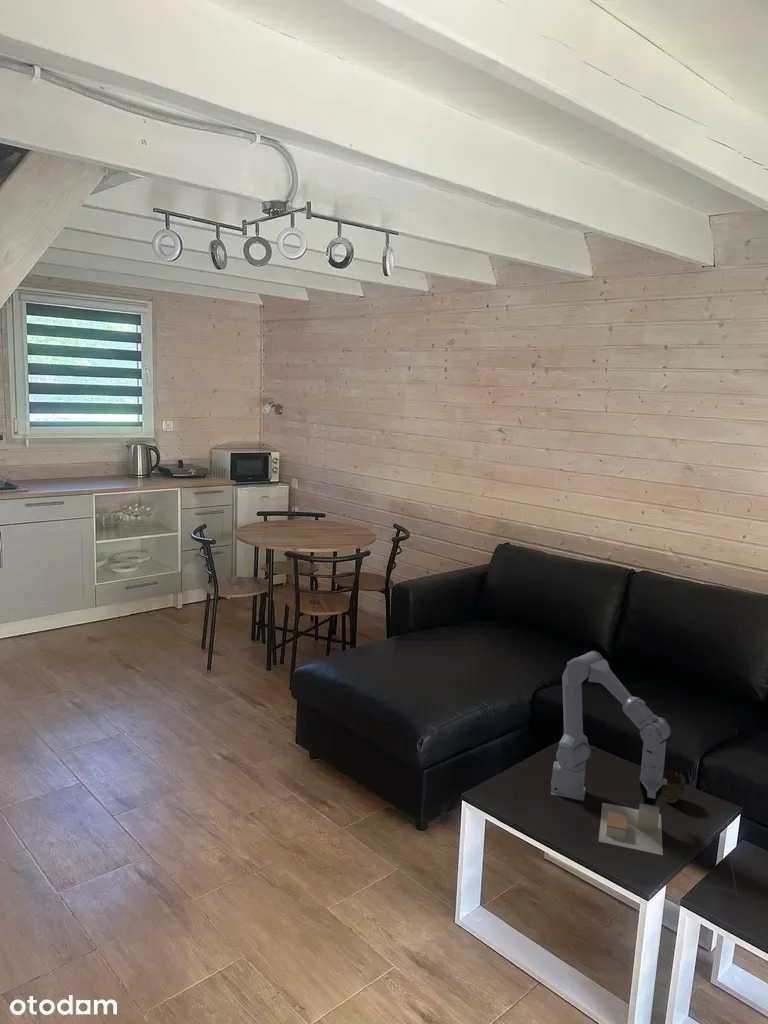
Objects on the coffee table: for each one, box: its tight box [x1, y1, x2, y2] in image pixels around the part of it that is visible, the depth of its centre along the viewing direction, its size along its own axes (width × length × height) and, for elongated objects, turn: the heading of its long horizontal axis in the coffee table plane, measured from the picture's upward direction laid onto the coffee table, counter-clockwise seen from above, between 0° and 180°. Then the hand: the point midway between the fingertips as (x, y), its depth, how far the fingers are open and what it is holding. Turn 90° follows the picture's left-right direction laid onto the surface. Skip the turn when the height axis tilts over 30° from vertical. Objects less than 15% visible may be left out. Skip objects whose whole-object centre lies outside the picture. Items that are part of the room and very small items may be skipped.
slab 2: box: [638, 802, 660, 832], centre depth 197 cm, size 5×3×7 cm, turn 71°
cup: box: [661, 770, 687, 804], centre depth 213 cm, size 8×7×8 cm
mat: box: [598, 802, 664, 856], centre depth 199 cm, size 16×20×1 cm
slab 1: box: [606, 812, 627, 840], centre depth 197 cm, size 5×3×7 cm
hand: (648, 809), depth 199 cm, fingers closed
